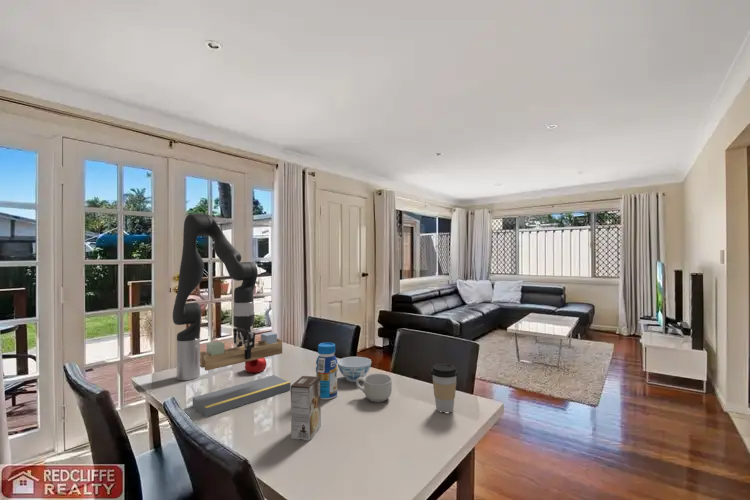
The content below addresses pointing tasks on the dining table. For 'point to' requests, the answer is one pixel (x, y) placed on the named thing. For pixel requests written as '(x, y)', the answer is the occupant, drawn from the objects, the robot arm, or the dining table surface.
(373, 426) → the dining table surface
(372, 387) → the teacup
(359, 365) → the chinaware
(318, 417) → the coffee box
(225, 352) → the long wooden trough
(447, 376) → the coffee cup
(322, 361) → the beverage bottle
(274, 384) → the plate
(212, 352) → the block
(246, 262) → the robot arm
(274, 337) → the pale blue block
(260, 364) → the pomegranate
